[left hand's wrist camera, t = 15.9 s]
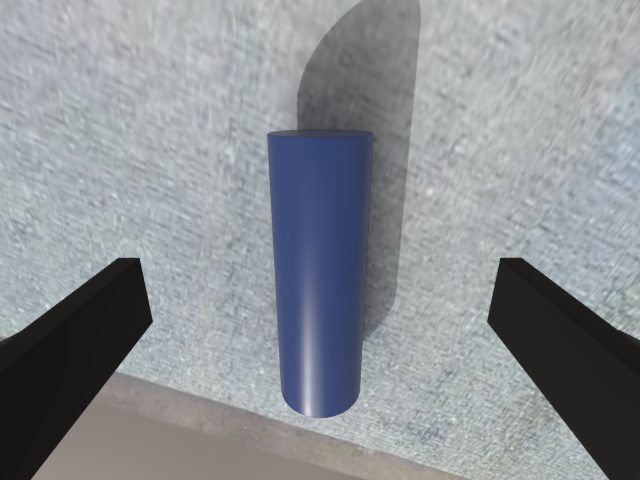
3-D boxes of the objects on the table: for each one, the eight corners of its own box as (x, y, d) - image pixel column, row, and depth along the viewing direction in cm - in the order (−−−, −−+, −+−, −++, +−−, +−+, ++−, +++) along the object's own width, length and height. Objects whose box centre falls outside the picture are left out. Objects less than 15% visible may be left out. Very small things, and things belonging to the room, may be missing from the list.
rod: (274, 129, 33) (258, 137, 25) (366, 129, 33) (381, 137, 25) (285, 358, 43) (276, 418, 34) (356, 358, 43) (364, 418, 34)
